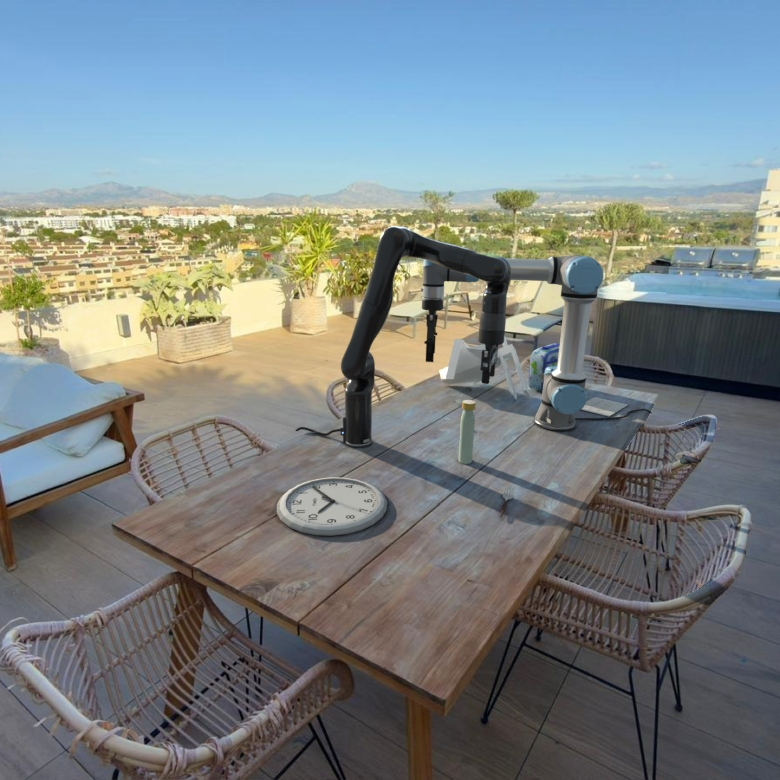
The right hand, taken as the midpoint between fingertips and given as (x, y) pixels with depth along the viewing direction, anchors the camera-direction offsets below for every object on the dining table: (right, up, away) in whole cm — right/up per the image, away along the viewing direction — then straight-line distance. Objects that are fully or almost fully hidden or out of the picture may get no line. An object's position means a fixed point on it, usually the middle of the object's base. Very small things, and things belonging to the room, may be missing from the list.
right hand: (430, 357), depth 190 cm
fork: (+17, -44, -45) cm, 65 cm away
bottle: (+10, -35, -18) cm, 41 cm away
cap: (+10, -16, -24) cm, 31 cm away
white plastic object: (+27, -13, +54) cm, 61 cm away
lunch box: (+62, -11, +62) cm, 89 cm away
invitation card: (+77, -19, +37) cm, 87 cm away
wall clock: (-30, -43, -47) cm, 71 cm away
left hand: (+15, -9, -31) cm, 35 cm away
